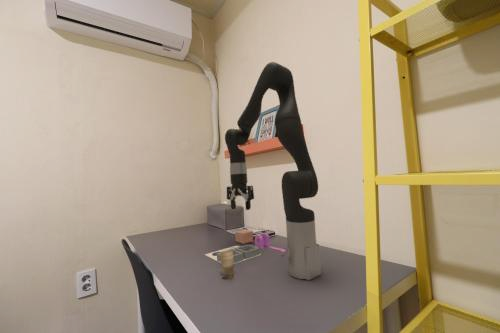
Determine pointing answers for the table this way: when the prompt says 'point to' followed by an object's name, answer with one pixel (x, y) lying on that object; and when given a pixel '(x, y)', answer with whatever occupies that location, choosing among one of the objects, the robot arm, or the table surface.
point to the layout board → (237, 253)
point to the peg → (227, 264)
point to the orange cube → (244, 236)
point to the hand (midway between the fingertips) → (240, 209)
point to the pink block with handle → (264, 242)
